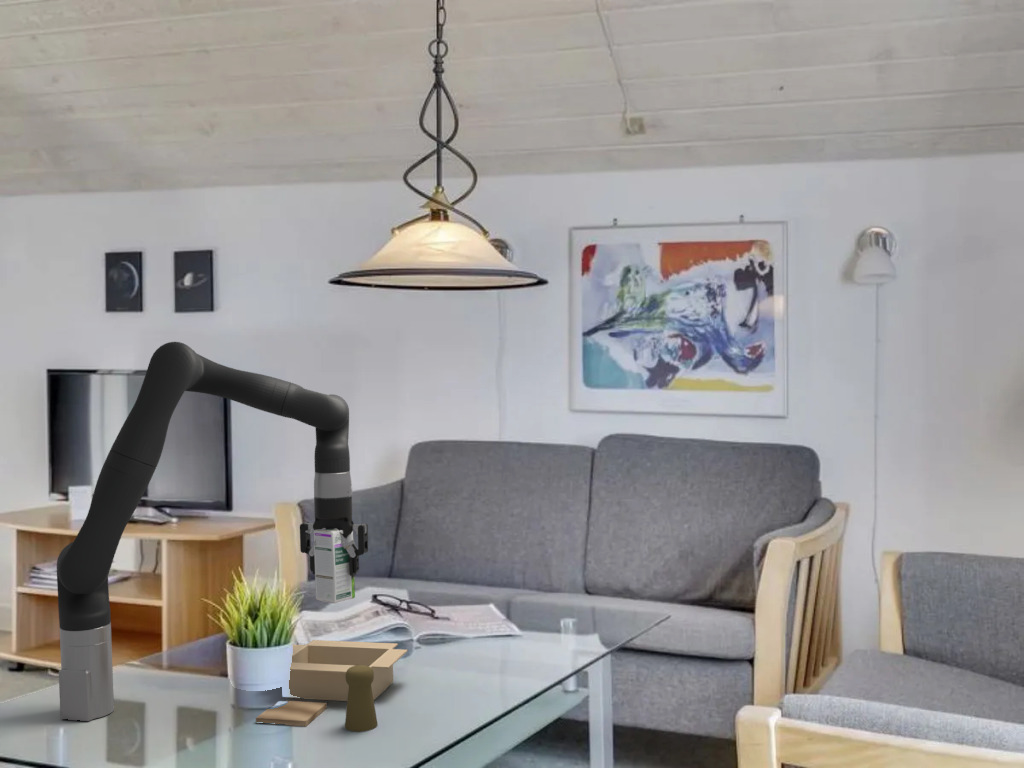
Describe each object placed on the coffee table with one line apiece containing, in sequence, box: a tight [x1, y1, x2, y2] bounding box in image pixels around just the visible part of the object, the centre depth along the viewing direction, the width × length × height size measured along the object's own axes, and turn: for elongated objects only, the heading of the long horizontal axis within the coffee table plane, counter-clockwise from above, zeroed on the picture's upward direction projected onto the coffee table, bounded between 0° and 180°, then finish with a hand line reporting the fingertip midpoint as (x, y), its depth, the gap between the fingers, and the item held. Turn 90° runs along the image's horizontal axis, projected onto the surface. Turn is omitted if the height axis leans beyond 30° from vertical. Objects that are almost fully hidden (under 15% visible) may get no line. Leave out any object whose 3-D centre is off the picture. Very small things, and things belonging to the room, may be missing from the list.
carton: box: [289, 639, 409, 702], centre depth 223 cm, size 26×20×7 cm
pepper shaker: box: [344, 665, 378, 733], centre depth 202 cm, size 6×6×11 cm
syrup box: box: [313, 529, 356, 604], centre depth 222 cm, size 6×6×14 cm
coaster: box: [255, 700, 328, 727], centre depth 208 cm, size 10×10×1 cm
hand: (334, 574), depth 222 cm, fingers closed on syrup box, 7 cm apart
